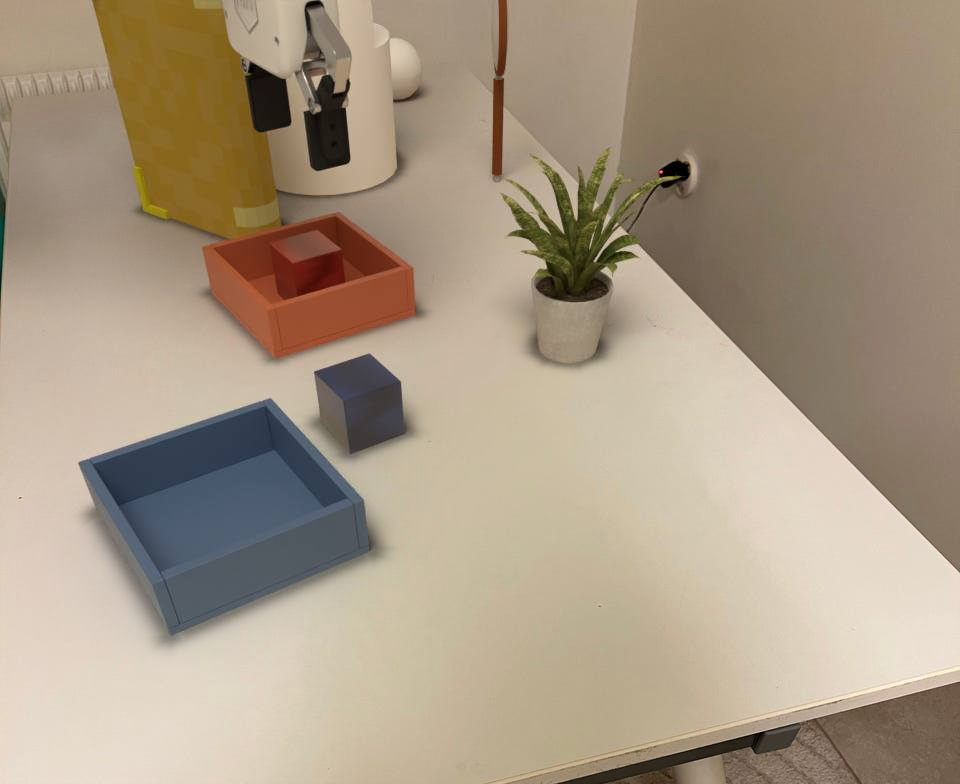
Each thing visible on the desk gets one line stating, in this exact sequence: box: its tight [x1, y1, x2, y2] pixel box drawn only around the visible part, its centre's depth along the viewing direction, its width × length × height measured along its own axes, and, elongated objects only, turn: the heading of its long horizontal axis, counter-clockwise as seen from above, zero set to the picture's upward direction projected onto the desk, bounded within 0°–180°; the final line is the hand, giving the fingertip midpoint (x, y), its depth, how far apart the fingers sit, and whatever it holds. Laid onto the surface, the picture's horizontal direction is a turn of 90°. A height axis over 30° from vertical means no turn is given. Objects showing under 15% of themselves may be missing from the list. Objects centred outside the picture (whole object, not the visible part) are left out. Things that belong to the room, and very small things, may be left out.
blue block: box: [313, 352, 406, 455], centre depth 71 cm, size 5×5×5 cm
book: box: [91, 0, 282, 240], centre depth 91 cm, size 17×7×25 cm, turn 55°
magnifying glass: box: [490, 0, 509, 183], centre depth 100 cm, size 9×2×20 cm, turn 3°
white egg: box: [389, 37, 423, 101], centre depth 125 cm, size 10×7×7 cm
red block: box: [269, 230, 345, 300], centre depth 85 cm, size 5×5×5 cm
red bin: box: [201, 211, 417, 360], centre depth 85 cm, size 15×15×5 cm
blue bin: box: [77, 397, 371, 636], centre depth 63 cm, size 15×15×5 cm
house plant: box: [499, 147, 686, 364], centre depth 76 cm, size 14×14×16 cm
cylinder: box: [267, 0, 398, 196], centre depth 100 cm, size 17×17×28 cm
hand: (301, 146), depth 71 cm, fingers open, 9 cm apart
